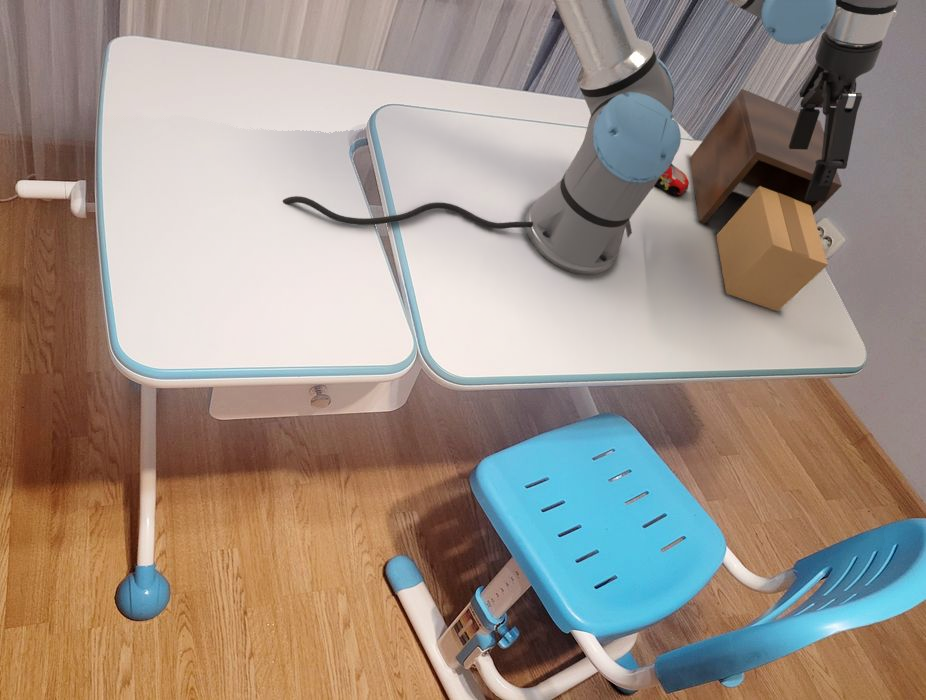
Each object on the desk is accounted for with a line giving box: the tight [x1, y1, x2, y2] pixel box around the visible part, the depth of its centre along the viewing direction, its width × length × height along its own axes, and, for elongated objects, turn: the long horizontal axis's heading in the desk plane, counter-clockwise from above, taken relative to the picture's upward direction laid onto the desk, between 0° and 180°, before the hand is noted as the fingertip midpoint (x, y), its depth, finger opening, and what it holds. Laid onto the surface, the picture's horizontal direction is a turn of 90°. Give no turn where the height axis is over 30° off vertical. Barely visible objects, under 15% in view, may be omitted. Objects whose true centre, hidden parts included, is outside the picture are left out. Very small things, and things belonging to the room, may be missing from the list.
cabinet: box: [689, 88, 843, 225], centre depth 135 cm, size 18×16×16 cm
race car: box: [654, 163, 690, 196], centre depth 136 cm, size 13×5×4 cm, turn 74°
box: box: [715, 186, 829, 312], centre depth 125 cm, size 14×10×12 cm
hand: (805, 173), depth 116 cm, fingers open, 13 cm apart
